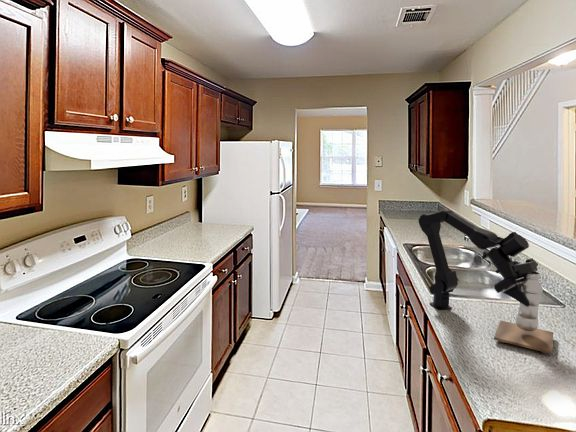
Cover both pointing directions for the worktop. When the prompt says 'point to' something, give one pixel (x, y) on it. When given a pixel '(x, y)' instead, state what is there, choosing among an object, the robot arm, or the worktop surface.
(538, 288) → the plastic bottle
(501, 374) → the worktop surface
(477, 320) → the worktop surface
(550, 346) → the shelf board
